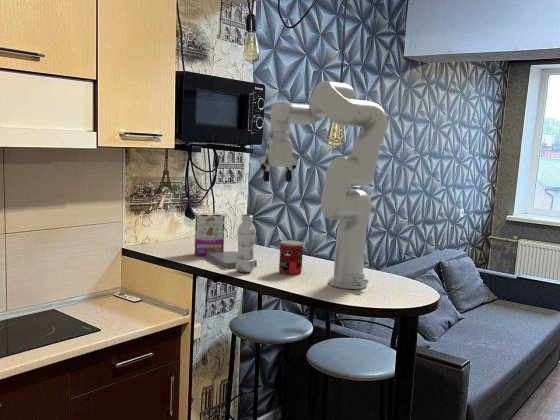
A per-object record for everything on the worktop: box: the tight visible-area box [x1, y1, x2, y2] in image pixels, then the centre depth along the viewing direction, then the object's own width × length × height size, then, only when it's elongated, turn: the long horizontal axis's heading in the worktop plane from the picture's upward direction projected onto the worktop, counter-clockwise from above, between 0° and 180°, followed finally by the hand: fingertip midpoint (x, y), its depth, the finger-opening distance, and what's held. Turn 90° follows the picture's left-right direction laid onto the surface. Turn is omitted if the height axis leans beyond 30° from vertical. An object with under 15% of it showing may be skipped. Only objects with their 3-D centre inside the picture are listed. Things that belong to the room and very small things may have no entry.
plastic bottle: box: [235, 213, 257, 273], centre depth 188 cm, size 6×7×20 cm
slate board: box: [206, 250, 258, 270], centre depth 203 cm, size 18×12×2 cm, turn 31°
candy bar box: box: [194, 212, 225, 257], centre depth 213 cm, size 11×5×16 cm, turn 104°
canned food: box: [278, 239, 304, 276], centre depth 192 cm, size 8×8×11 cm
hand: (277, 181), depth 210 cm, fingers open, 9 cm apart
